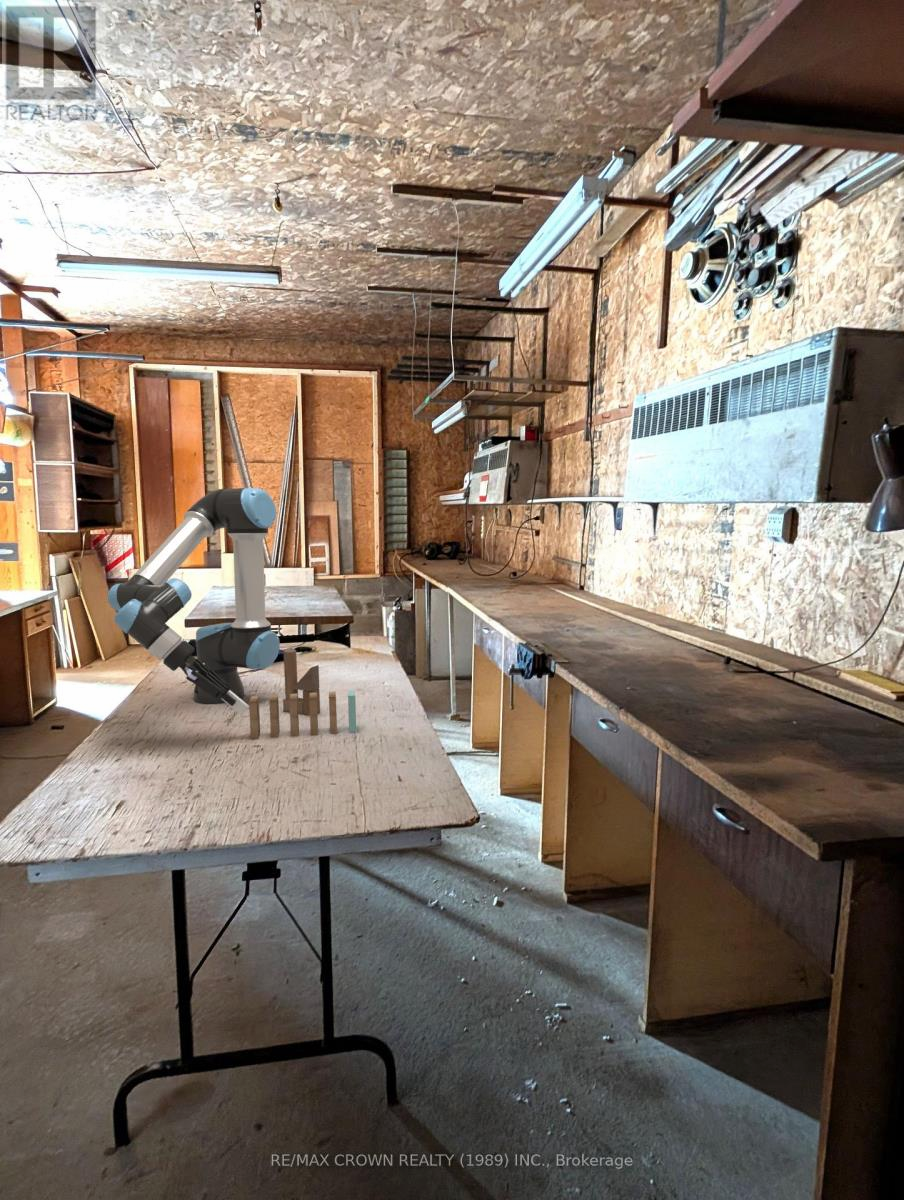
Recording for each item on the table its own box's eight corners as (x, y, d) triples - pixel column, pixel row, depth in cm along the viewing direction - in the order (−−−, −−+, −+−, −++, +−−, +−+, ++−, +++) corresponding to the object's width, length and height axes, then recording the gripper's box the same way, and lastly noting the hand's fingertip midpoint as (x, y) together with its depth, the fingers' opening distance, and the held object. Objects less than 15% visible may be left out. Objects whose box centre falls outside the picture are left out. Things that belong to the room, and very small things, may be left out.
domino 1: (253, 732, 172) (251, 696, 171) (260, 732, 173) (258, 695, 171) (250, 739, 167) (249, 701, 166) (258, 738, 168) (256, 701, 166)
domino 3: (292, 730, 174) (290, 693, 173) (299, 729, 174) (297, 693, 173) (290, 736, 169) (289, 699, 168) (298, 736, 169) (296, 698, 168)
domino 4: (311, 729, 175) (309, 692, 173) (318, 728, 175) (316, 692, 174) (310, 735, 170) (309, 698, 169) (317, 734, 170) (316, 697, 169)
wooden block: (313, 716, 186) (310, 654, 183) (282, 711, 190) (280, 651, 188) (320, 712, 189) (318, 651, 187) (290, 708, 194) (288, 648, 191)
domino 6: (348, 726, 177) (347, 690, 175) (355, 726, 177) (354, 690, 176) (349, 732, 172) (348, 695, 170) (356, 732, 172) (355, 695, 171)
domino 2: (272, 731, 173) (271, 695, 172) (279, 731, 173) (278, 694, 172) (271, 738, 168) (269, 700, 167) (278, 737, 169) (276, 700, 167)
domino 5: (330, 727, 176) (328, 691, 174) (336, 727, 176) (335, 691, 175) (330, 734, 171) (328, 696, 169) (337, 733, 171) (335, 696, 170)
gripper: (168, 655, 169) (238, 713, 175) (154, 667, 157) (231, 729, 162) (188, 634, 170) (258, 693, 175) (176, 644, 157) (252, 707, 162)
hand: (245, 710), depth 168 cm, fingers closed
